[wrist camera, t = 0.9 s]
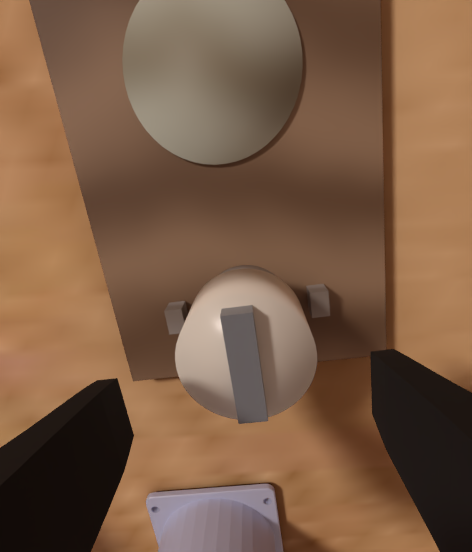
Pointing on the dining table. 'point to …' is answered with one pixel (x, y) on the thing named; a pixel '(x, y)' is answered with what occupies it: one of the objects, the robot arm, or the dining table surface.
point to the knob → (246, 347)
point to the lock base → (226, 157)
